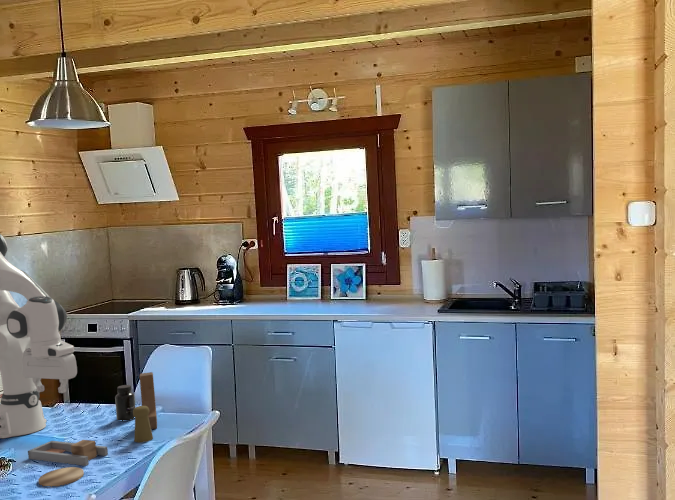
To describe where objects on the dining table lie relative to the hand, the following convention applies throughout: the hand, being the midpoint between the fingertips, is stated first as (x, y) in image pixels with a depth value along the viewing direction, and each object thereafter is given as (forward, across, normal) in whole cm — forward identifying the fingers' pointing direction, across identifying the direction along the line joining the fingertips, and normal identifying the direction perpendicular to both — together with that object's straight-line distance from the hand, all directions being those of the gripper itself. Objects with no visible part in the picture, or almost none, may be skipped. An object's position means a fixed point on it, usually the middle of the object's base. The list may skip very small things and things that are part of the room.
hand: (51, 392), depth 213 cm
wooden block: (+21, +10, +31) cm, 39 cm away
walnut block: (+21, +11, 0) cm, 23 cm away
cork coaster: (+20, +16, -14) cm, 30 cm away
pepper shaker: (+21, +18, +19) cm, 33 cm away
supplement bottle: (+21, -5, +36) cm, 41 cm away
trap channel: (+20, +4, 0) cm, 21 cm away
